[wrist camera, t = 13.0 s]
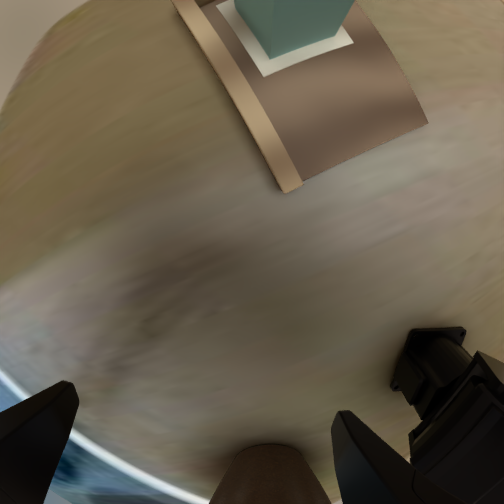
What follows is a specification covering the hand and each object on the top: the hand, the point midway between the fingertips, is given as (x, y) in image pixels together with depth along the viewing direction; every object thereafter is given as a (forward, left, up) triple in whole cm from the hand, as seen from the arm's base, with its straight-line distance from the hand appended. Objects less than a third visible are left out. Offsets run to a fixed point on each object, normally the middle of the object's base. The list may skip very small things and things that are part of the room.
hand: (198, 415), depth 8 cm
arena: (-4, -16, -13) cm, 21 cm away
